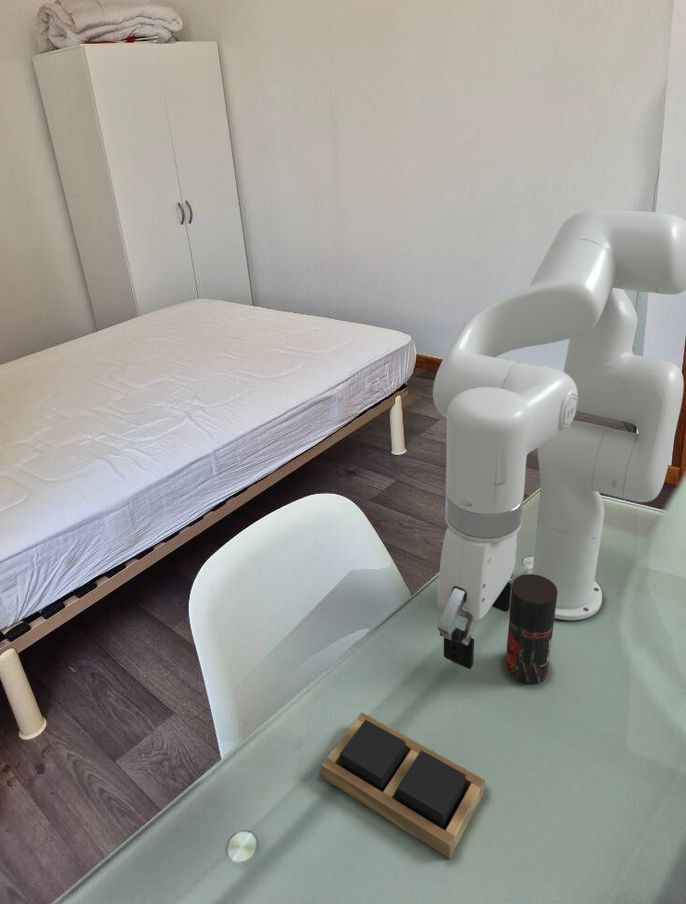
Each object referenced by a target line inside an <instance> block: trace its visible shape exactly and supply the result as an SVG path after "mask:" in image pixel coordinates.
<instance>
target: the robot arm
mask: <svg viewBox="0 0 686 904" xmlns="http://www.w3.org/2000/svg"><path fill="white" fill-rule="evenodd" d="M530 282H531V283H530V284H529V286H527V287H525V288H522V289H519V290H518V291H515V292H512V293H511V294H509V295H507V296H504V297H503V298H501V299H499V300H497V301H495V302H494V303H492V304H490V305H488V306H486V307H484V308H482V310H480V311H479V312H477V313H475V314H474V315H472V317H470V318H469V319H468V320H467V321H466V322H465V323H464V324H463V325H462V327H461V328H460V329H459V331H458V332H457V334H456V335H455V337H454V339H453V341H452V342H451V344H450V346H449V348H448V349H447V351H446V353H445V355H444V357H443V359H442V360H441V363H440V365H439V367H438V369H437V372H436V374H435V378H434V381H433V387H432V399H433V404H434V405H435V408H436V410H437V411H438V412H439V413H440V415H441V416H443V417H444V418H445V419H446V445H445V446H446V450H445V451H446V453H445V454H446V455H445V458H446V459H445V460H446V461H445V505H444V506H445V509H444V510H445V511H444V512H445V513H444V515H445V516H444V518H445V523H446V526H447V528H446V529H445V533H444V537H443V541H442V542H443V543H442V548H441V553H440V560H439V574H438V584H437V587H438V588H437V605H438V607H439V608H440V609H443V611H442V614H441V616H440V618H439V620H438V622H437V625H436V628H437V630H438V632H439V635H440V637H443V657H444V658H445V659H446V660H448V661H450V662H452V663H453V664H456V665H459V666H461V667H463V668H466V669H468V670H471V669H472V668H473V667H474V660H475V659H474V658H475V657H474V655H475V639H474V638H473V637H472V635H473V632H474V630H475V626H476V623H477V622H478V621H481V620H482V619H483V618H484V617H485V616H486V615H487V613H488V612H489V611H490V609H491V608H493V609H497V610H498V611H501V612H504V613H505V612H506V613H507V612H509V611H510V605H511V593H512V582H511V581H512V580H513V577H514V569H515V566H516V560H517V559H516V558H517V547H518V546H517V543H518V533H519V531H520V530H521V528H522V523H523V522H522V521H523V512H524V511H523V510H524V509H523V508H524V496H525V483H526V469H527V456H528V455H529V454H531V453H533V451H534V450H536V449H537V462H538V470H539V501H538V512H537V522H536V532H535V541H534V552H533V563H532V568H530V569H529V570H527V572H526V573H525V574H524V575H526V574H534V575H539V576H542V577H545V578H547V579H549V580H550V581H551V582H553V583H554V585H555V586H556V588H557V601H556V609H555V617H554V619H557V620H561V621H562V620H563V621H578V620H579V621H580V620H585V619H588V618H590V617H592V616H594V615H595V614H596V613H597V612H598V611H599V610H600V608H601V606H602V603H603V592H602V589H601V587H600V585H599V584H598V582H597V581H596V580H595V579H596V572H597V566H598V560H599V553H600V547H601V539H602V533H603V526H604V519H605V507H604V506H605V505H604V502H603V499H602V496H601V494H605V495H607V496H608V495H609V496H612V497H616V498H619V499H623V500H626V501H627V500H628V501H631V502H637V503H648V502H652V501H654V500H655V499H656V498H657V497H658V496H659V495H660V493H661V491H662V489H663V487H664V483H665V480H666V476H667V473H668V470H669V469H668V468H669V463H670V459H671V454H672V450H673V444H674V440H675V435H676V432H677V427H678V422H679V417H680V414H681V410H682V409H681V408H682V403H683V396H684V388H685V387H684V384H685V383H684V375H683V373H682V370H681V369H680V367H679V366H678V365H676V364H675V363H673V362H671V361H669V360H666V359H663V358H658V357H651V356H643V355H637V354H634V352H633V346H634V342H635V337H636V332H637V327H638V321H639V320H638V319H639V318H638V313H637V312H636V311H637V310H636V309H635V307H634V305H633V303H632V301H631V299H630V298H629V296H628V295H627V293H626V292H625V291H634V292H642V293H643V292H644V293H653V294H661V295H672V296H674V295H679V294H681V293H683V292H685V291H686V220H685V219H684V218H682V217H680V216H678V215H676V214H672V213H667V212H661V211H660V212H659V211H642V210H622V209H599V208H598V209H597V208H595V209H586V210H583V211H580V212H579V211H578V212H577V213H574V214H572V215H571V216H570V217H568V218H567V219H566V220H565V221H564V223H563V224H562V225H561V226H560V228H559V230H558V232H557V234H556V235H555V237H554V239H553V241H552V243H551V245H550V247H549V248H548V250H547V252H546V253H545V256H544V257H543V259H542V261H541V263H540V265H539V267H538V269H537V271H536V272H535V274H534V276H533V278H532V280H531V281H530ZM567 340H569V341H568V344H567V345H568V346H567V350H566V356H565V361H564V365H563V370H562V371H561V370H559V369H556V368H553V367H549V366H542V365H538V364H531V363H525V362H520V361H517V360H513V359H512V360H511V359H506V358H500V357H498V356H501V355H504V354H506V353H508V352H511V351H514V350H519V349H523V348H529V347H535V346H541V345H547V344H553V343H557V342H562V341H567ZM577 412H580V413H583V414H586V415H591V416H596V417H601V418H604V419H605V418H606V419H610V420H616V421H620V422H625V423H629V424H632V425H634V426H635V427H636V429H637V431H638V432H637V433H636V432H632V431H627V430H622V429H617V428H612V427H609V426H605V425H601V424H596V423H591V422H586V421H582V420H574V419H575V416H576V414H577ZM464 606H466V608H467V610H466V609H464V608H463V607H464ZM459 616H461V617H462V618H466V619H467V620H466V624H465V626H464V630H463V629H461V628H459V627H457V621H458V619H459Z"/></svg>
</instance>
